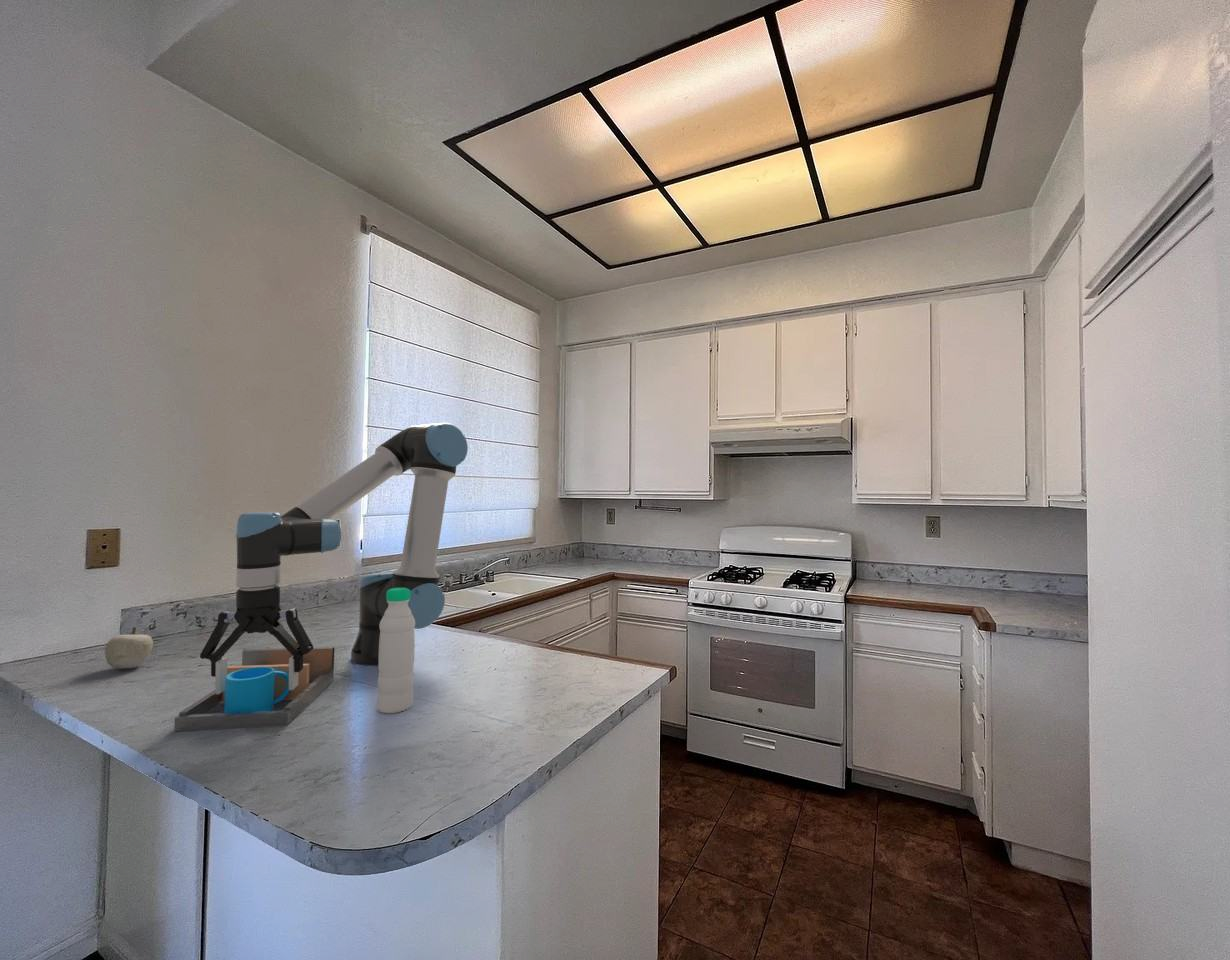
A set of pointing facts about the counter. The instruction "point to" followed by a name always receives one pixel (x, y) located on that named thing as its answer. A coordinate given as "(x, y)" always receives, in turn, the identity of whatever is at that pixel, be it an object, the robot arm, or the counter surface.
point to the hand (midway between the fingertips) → (257, 689)
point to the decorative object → (128, 650)
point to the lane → (200, 720)
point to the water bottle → (396, 654)
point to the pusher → (280, 680)
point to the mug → (252, 690)
